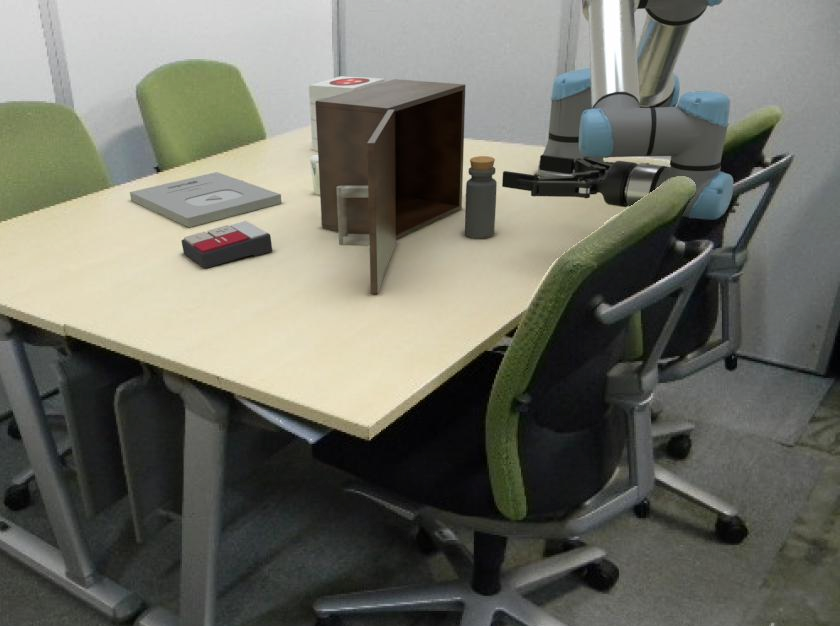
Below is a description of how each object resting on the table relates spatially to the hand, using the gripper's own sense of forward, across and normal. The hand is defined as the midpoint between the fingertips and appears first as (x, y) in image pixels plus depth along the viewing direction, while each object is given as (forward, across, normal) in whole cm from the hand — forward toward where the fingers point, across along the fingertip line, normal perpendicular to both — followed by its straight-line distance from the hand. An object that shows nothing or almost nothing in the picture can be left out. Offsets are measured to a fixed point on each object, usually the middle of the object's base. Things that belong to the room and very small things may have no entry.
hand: (522, 170), depth 159 cm
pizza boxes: (+74, +42, -14) cm, 86 cm away
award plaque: (+76, -14, -14) cm, 79 cm away
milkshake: (+57, +6, -14) cm, 59 cm away
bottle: (+9, 0, -14) cm, 17 cm away
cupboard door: (+16, -27, -14) cm, 34 cm away
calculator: (+45, -36, -14) cm, 59 cm away
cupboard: (+30, -1, -14) cm, 33 cm away
